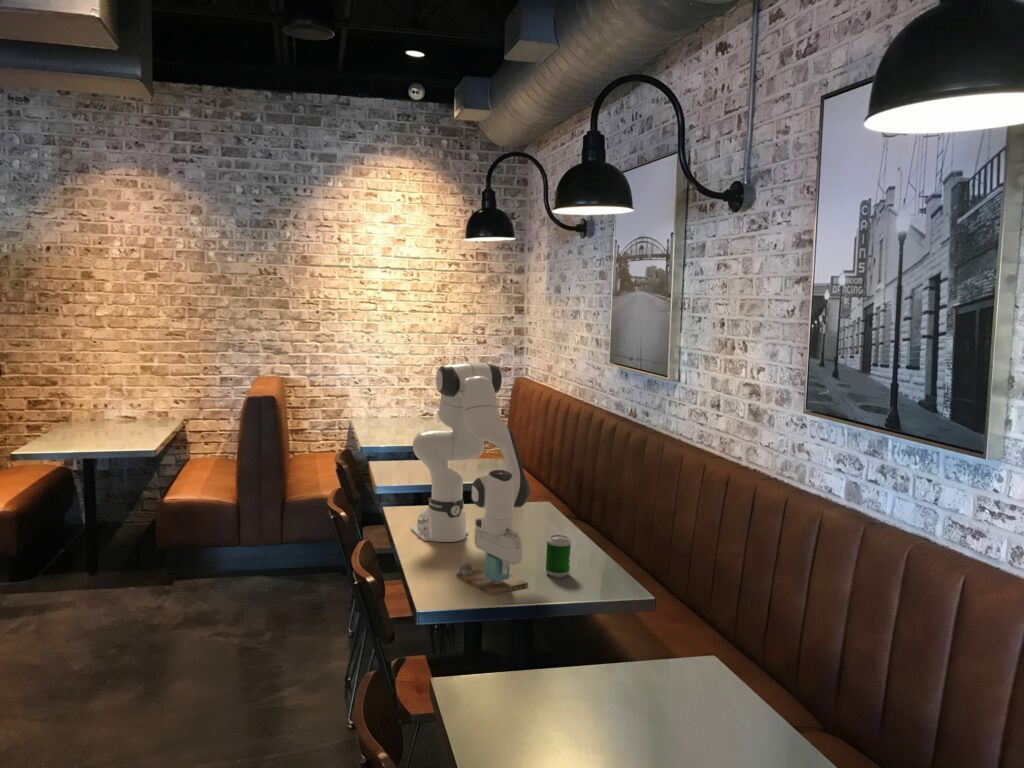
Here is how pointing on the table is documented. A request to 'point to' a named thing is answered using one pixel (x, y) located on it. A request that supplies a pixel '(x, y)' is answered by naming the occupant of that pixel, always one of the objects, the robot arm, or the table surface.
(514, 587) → the stand
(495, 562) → the light blue toy cube
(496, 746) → the table surface
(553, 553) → the soda can
